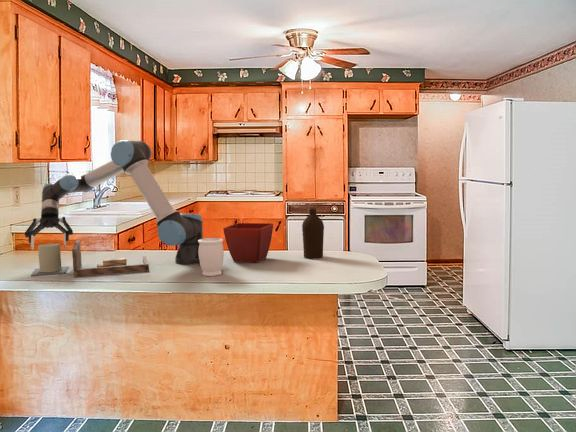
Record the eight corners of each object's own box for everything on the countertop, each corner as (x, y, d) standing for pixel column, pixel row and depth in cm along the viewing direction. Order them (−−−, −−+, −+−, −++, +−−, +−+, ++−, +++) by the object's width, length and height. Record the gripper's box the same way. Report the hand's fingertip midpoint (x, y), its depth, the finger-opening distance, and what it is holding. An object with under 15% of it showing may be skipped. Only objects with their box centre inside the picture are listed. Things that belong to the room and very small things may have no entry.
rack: (146, 260, 254) (144, 236, 253) (148, 270, 230) (147, 244, 229) (78, 265, 245) (76, 240, 243) (73, 277, 221) (72, 249, 219)
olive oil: (312, 260, 247) (311, 208, 244) (298, 257, 255) (297, 206, 252) (328, 257, 254) (328, 206, 251) (314, 254, 262) (313, 205, 259)
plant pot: (223, 263, 244) (222, 227, 242) (239, 255, 262) (238, 222, 260) (261, 264, 239) (260, 228, 237) (274, 257, 257) (274, 223, 255)
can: (38, 273, 226) (36, 246, 225) (40, 269, 235) (38, 243, 233) (61, 271, 230) (59, 244, 228) (62, 267, 238) (60, 241, 237)
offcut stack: (130, 268, 238) (130, 256, 237) (132, 270, 233) (131, 258, 232) (95, 271, 232) (95, 260, 231) (96, 274, 227) (96, 262, 226)
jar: (199, 277, 215) (198, 242, 213) (198, 272, 225) (197, 238, 223) (225, 276, 217) (224, 240, 215) (223, 270, 227) (222, 237, 225)
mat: (68, 267, 241) (68, 266, 241) (65, 273, 227) (65, 272, 227) (35, 270, 236) (35, 268, 236) (30, 276, 223) (30, 275, 223)
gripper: (78, 214, 253) (79, 249, 241) (22, 217, 245) (19, 254, 233) (77, 204, 248) (77, 240, 235) (19, 207, 240) (16, 244, 227)
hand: (48, 247), depth 234 cm, fingers open, 13 cm apart
